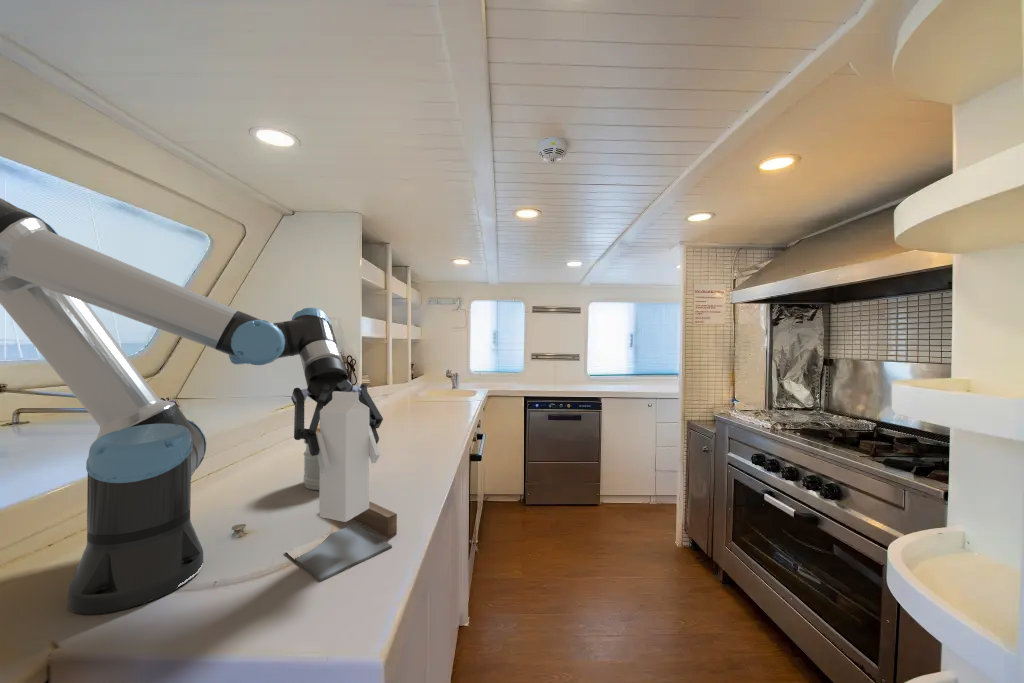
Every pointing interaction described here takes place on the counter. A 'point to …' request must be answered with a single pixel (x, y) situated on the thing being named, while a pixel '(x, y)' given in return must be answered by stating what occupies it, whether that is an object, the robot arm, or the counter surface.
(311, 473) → the jar
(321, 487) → the milk
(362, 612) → the counter surface
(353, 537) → the guide jig
